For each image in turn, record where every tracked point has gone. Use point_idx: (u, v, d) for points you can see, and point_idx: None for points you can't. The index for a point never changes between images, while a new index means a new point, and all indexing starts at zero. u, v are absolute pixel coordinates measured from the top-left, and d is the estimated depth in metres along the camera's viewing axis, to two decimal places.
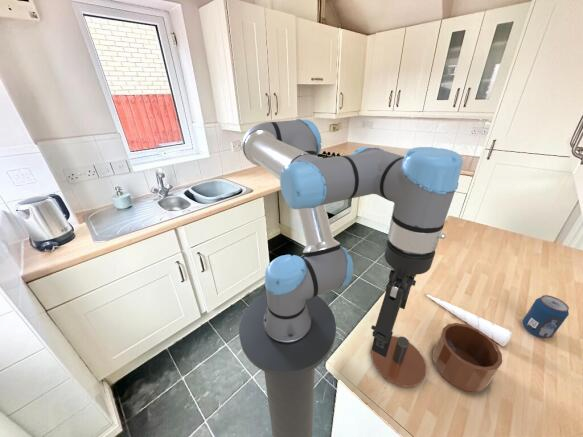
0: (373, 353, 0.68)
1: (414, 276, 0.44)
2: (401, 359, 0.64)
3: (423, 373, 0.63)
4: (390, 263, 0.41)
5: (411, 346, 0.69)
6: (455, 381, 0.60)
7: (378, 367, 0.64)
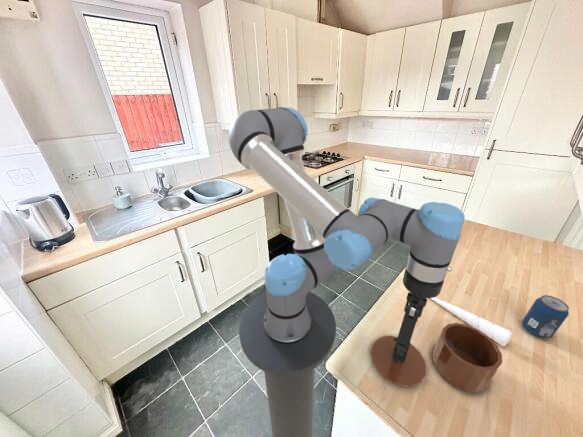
0: (373, 353, 0.68)
1: None
2: None
3: (423, 373, 0.63)
4: (408, 288, 0.52)
5: (411, 346, 0.69)
6: (455, 381, 0.60)
7: (378, 367, 0.64)
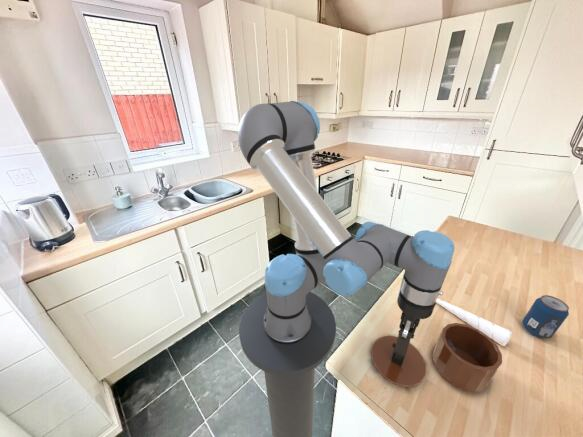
0: (373, 353, 0.68)
1: None
2: None
3: (423, 373, 0.63)
4: (402, 309, 0.55)
5: (411, 346, 0.69)
6: (455, 381, 0.60)
7: (378, 367, 0.64)
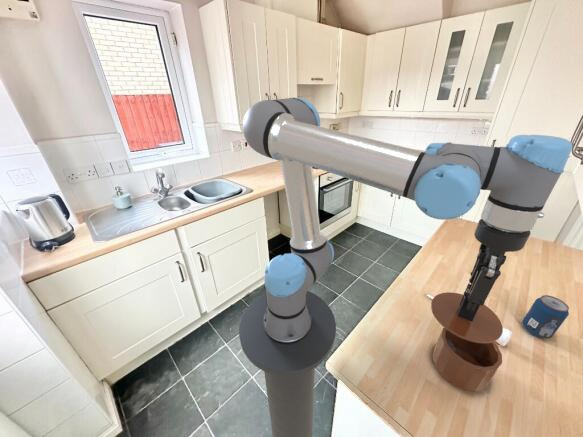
0: (434, 309, 0.57)
1: None
2: None
3: (500, 329, 0.52)
4: (485, 242, 0.45)
5: None
6: (455, 381, 0.60)
7: (444, 323, 0.54)
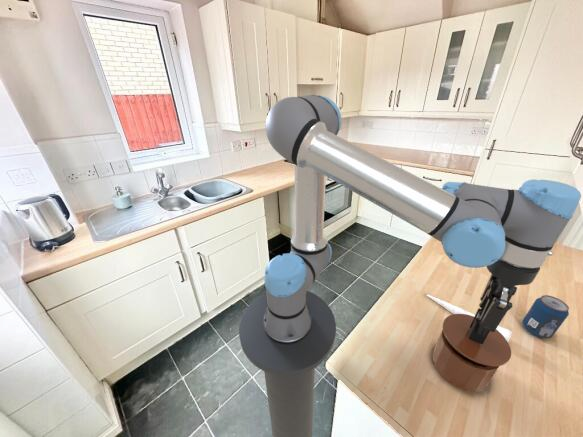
0: (446, 331, 0.61)
1: None
2: None
3: (508, 351, 0.56)
4: (497, 275, 0.48)
5: None
6: (455, 381, 0.60)
7: (456, 346, 0.57)
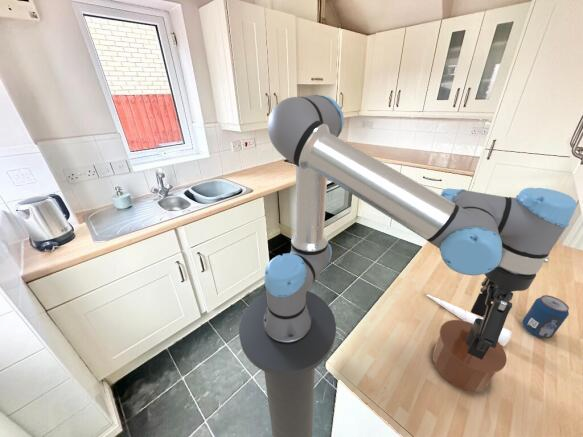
0: (443, 337, 0.62)
1: None
2: None
3: (504, 358, 0.57)
4: (494, 281, 0.49)
5: None
6: (455, 381, 0.60)
7: (452, 352, 0.59)
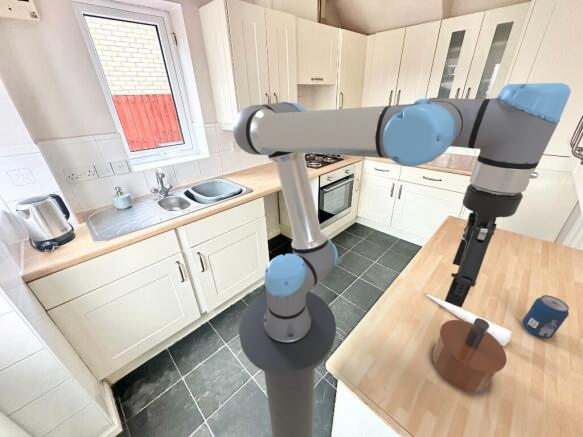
0: (443, 337, 0.62)
1: None
2: (478, 343, 0.58)
3: (504, 358, 0.57)
4: (474, 208, 0.41)
5: None
6: (455, 381, 0.60)
7: (452, 352, 0.59)
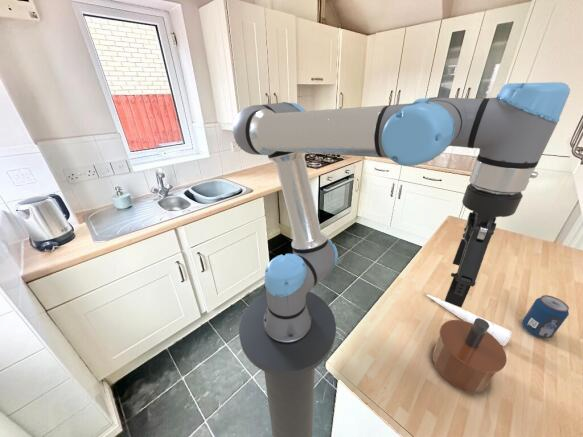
0: (443, 337, 0.62)
1: None
2: (478, 343, 0.58)
3: (504, 358, 0.57)
4: (473, 208, 0.41)
5: None
6: (455, 381, 0.60)
7: (452, 352, 0.59)
